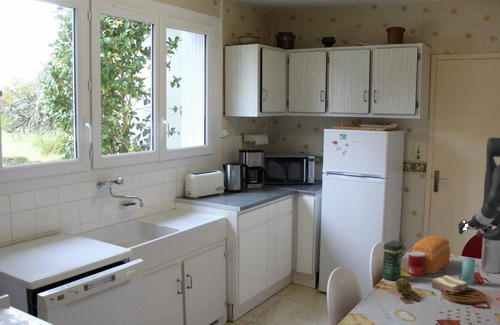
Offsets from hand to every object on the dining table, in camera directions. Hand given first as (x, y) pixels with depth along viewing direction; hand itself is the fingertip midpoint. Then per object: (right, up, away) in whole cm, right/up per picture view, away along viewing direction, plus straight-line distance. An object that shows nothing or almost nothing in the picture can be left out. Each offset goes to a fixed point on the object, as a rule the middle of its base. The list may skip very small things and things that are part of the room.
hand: (468, 233), depth 241 cm
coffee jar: (-37, -23, +4) cm, 44 cm away
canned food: (-23, -22, +9) cm, 33 cm away
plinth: (-14, -24, -11) cm, 30 cm away
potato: (-38, -25, -18) cm, 49 cm away
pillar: (-2, -24, -3) cm, 24 cm away
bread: (-11, -21, +22) cm, 33 cm away
